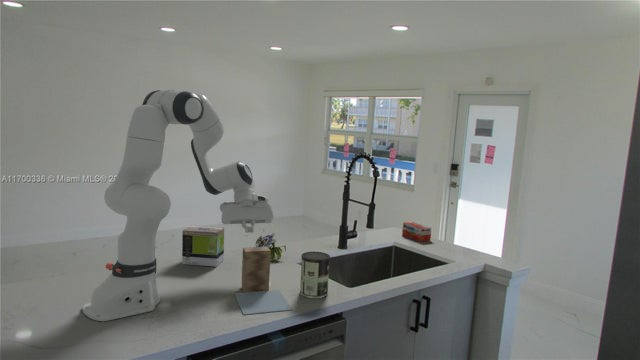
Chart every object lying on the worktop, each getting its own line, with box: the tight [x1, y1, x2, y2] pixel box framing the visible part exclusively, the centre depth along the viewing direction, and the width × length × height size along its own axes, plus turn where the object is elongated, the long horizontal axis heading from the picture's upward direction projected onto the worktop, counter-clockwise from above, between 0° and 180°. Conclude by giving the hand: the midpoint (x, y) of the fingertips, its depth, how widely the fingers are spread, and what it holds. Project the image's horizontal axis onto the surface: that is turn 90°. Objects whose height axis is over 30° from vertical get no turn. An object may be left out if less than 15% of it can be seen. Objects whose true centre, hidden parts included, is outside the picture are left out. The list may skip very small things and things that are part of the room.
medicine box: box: [401, 221, 432, 243], centre depth 246 cm, size 15×8×8 cm, turn 32°
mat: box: [234, 289, 293, 316], centre depth 147 cm, size 17×16×1 cm
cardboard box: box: [241, 246, 271, 293], centre depth 158 cm, size 9×5×15 cm, turn 110°
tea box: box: [181, 225, 225, 267], centre depth 184 cm, size 15×10×15 cm, turn 84°
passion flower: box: [255, 233, 287, 263], centre depth 196 cm, size 13×12×14 cm
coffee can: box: [299, 251, 331, 299], centre depth 157 cm, size 10×10×14 cm
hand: (249, 231), depth 168 cm, fingers closed
